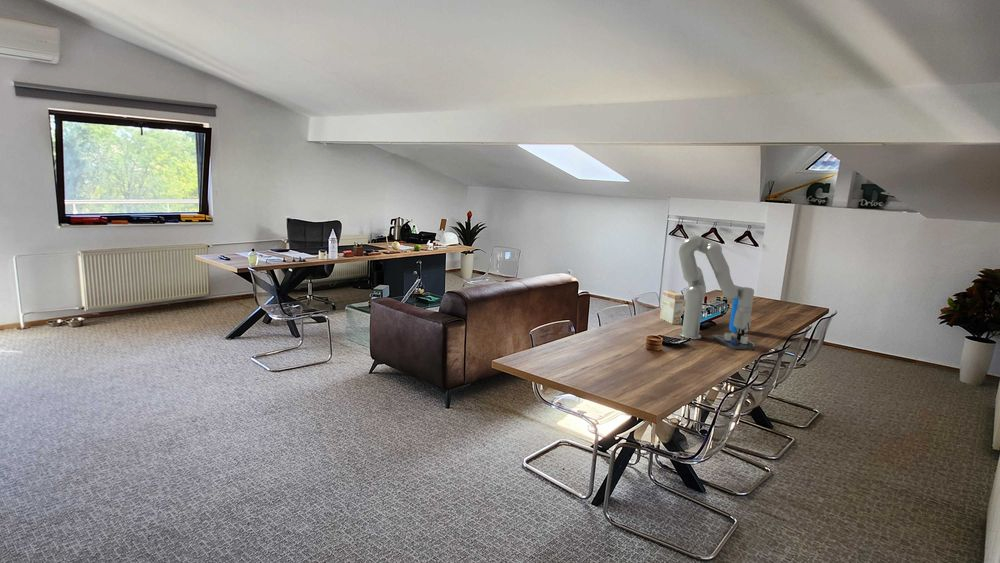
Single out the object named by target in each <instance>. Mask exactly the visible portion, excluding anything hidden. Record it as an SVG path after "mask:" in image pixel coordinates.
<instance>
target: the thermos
mask: <svg viewBox="0 0 1000 563" xmlns="http://www.w3.org/2000/svg"><path fill="white" fill-rule="evenodd" d="M738 300H739V298H736V299H734V300H732V304H731V305H732V306H731V313H730V319H729V320H730V321H729V325H728V326H729V327H728V328H729V329H728V330H729V332H730V331H731V333H735V334H738V332H737V328H736V327H735V326H734V325H733V323H734V318H735V313H736V311H737V307H738ZM747 333H748V332H745V334H747Z"/></svg>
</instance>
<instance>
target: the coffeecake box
mask: <svg viewBox="0 0 1000 563" xmlns="http://www.w3.org/2000/svg"><path fill="white" fill-rule="evenodd" d="M684 300H685V294H683V293H679V292H676V291H673V290H669V289H668V290H662V295H661V305H660V306H661V307H660V313H659V319H660V320H661V321H664V320H665V321H664V322H666V321H667V323H668V322H669V324H671V325H680V324H679V323H681V324H682V319H681V316H682V317H683V310H684V304H685V301H684Z"/></svg>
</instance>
